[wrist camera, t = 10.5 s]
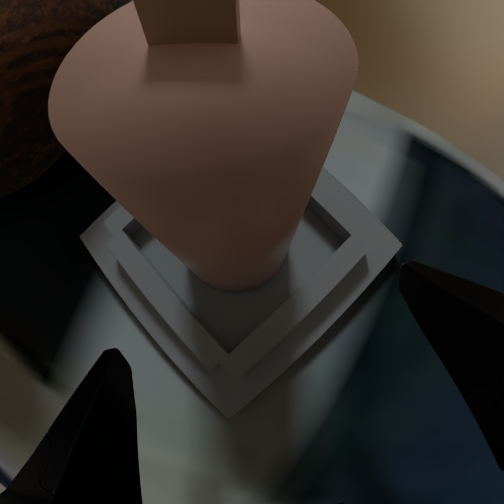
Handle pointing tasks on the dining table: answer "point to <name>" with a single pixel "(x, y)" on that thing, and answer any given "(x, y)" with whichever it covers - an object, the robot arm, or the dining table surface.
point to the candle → (209, 122)
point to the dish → (246, 293)
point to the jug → (36, 79)
